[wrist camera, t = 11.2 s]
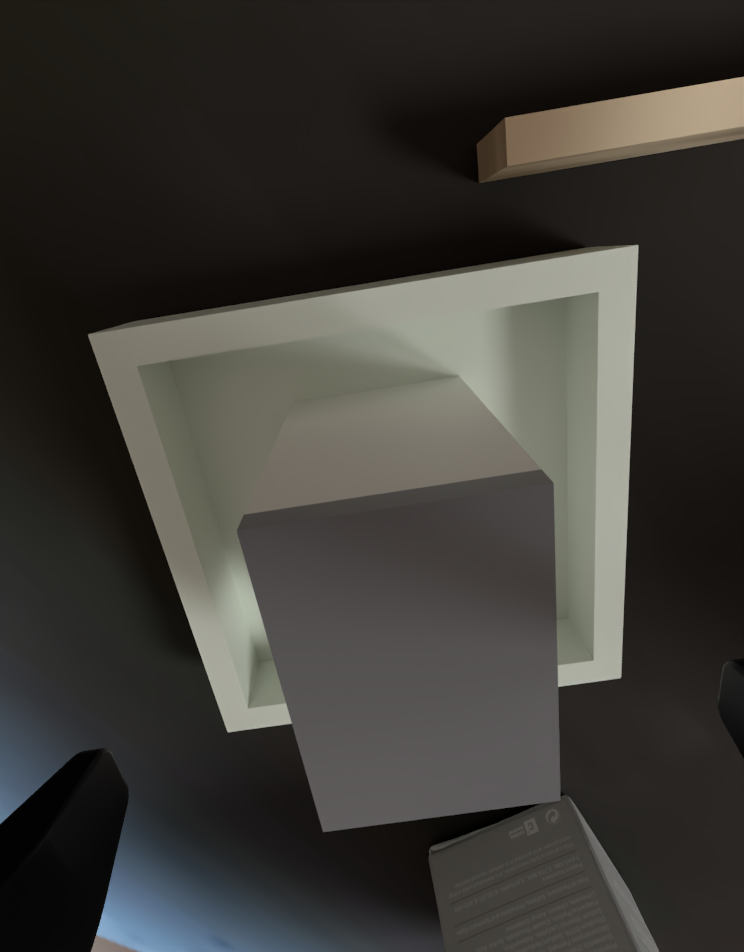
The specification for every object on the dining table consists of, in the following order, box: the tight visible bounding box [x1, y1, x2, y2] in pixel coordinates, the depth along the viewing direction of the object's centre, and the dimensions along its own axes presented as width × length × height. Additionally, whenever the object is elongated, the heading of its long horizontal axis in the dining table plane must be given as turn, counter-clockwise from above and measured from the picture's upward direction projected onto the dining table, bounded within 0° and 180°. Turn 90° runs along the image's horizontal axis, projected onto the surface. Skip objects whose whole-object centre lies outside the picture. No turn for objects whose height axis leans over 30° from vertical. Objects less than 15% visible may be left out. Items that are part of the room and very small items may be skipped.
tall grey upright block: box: [237, 376, 561, 832], centre depth 12 cm, size 4×6×7 cm
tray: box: [88, 245, 638, 732], centre depth 14 cm, size 12×12×2 cm
